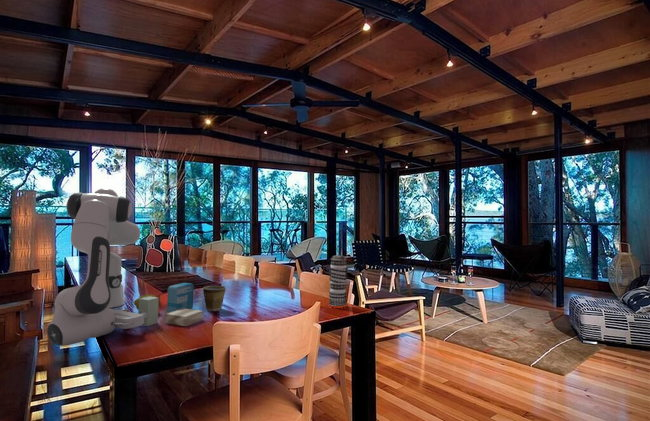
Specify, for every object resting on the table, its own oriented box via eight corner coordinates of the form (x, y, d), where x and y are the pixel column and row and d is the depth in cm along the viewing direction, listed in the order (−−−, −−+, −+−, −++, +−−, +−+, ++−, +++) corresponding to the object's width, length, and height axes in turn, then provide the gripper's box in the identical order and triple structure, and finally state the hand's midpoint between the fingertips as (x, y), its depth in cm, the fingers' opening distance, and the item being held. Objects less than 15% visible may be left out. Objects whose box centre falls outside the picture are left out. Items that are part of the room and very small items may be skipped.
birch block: (165, 323, 146) (165, 313, 146) (183, 317, 156) (183, 308, 156) (185, 327, 143) (185, 316, 143) (202, 320, 152) (202, 311, 152)
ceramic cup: (228, 310, 169) (228, 288, 169) (206, 313, 163) (206, 290, 163) (218, 304, 179) (219, 283, 179) (197, 306, 174) (198, 285, 174)
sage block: (137, 324, 144) (138, 298, 144) (148, 321, 148) (149, 296, 148) (147, 326, 142) (148, 300, 142) (157, 322, 146) (158, 297, 146)
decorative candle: (344, 309, 176) (345, 257, 177) (325, 307, 179) (327, 256, 179) (348, 305, 185) (349, 255, 185) (330, 303, 188) (332, 254, 188)
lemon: (163, 312, 163) (164, 293, 163) (151, 316, 155) (152, 297, 155) (142, 310, 165) (143, 292, 165) (129, 314, 157) (130, 295, 158)
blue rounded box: (175, 315, 158) (176, 287, 158) (166, 314, 159) (167, 286, 160) (193, 309, 169) (194, 282, 170) (184, 308, 171) (185, 282, 171)
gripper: (123, 317, 124) (157, 308, 136) (83, 309, 132) (118, 301, 144) (123, 335, 123) (156, 325, 136) (82, 327, 131) (117, 317, 144)
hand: (136, 312), depth 140 cm, fingers open, 8 cm apart
